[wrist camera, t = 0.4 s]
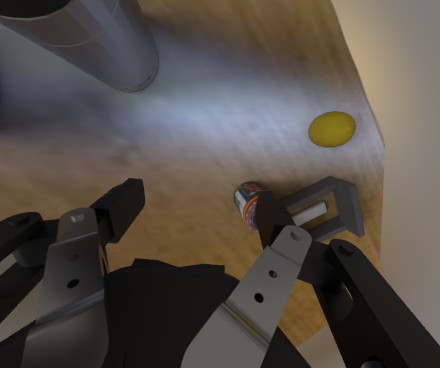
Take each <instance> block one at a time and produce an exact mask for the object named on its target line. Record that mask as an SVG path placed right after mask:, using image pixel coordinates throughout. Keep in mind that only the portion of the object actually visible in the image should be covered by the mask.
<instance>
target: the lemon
mask: <svg viewBox="0 0 440 368" xmlns="http://www.w3.org/2000/svg"><path fill="white" fill-rule="evenodd" d="M355 129H356V124H355V121H354V119H353V118H352V117H351V116H350V115H348V114H346V113H343V112H337V111H334V112H327V113H324V114H322V115H320V116H318V117H317V118H315V119H314V120H313V122H312V123H311V125H310V127H309V137H310V139H311V141H312V142H313V143H314V144H316V145H318V146H321V147H336V146H340V145H342V144H344V143H346V142H347V141H349V140H350V139H351V138H352V136H353V135H354V132H355Z"/></svg>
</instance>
